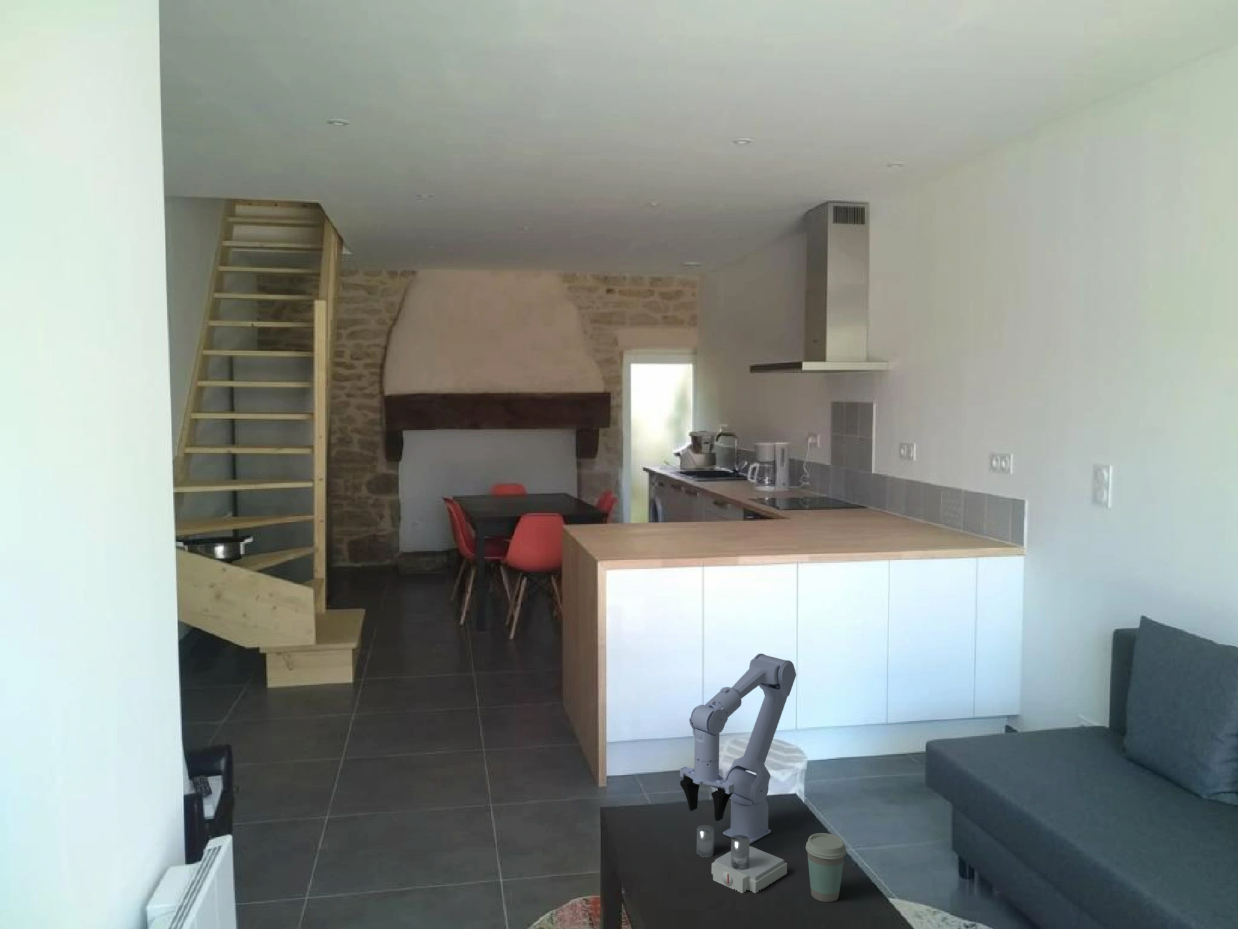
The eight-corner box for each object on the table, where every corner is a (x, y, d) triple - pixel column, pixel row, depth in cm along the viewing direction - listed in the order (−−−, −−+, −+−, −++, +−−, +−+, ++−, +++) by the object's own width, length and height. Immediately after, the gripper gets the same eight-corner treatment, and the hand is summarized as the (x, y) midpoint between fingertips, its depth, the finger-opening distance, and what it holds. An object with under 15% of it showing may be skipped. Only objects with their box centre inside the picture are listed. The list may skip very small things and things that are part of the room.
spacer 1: (703, 848, 221) (704, 823, 221) (717, 853, 218) (717, 828, 218) (693, 853, 218) (693, 828, 218) (706, 859, 216) (706, 834, 215)
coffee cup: (847, 889, 203) (848, 835, 202) (843, 909, 195) (844, 853, 194) (807, 882, 206) (808, 829, 205) (801, 901, 198) (803, 846, 197)
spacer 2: (739, 859, 209) (739, 833, 209) (752, 866, 206) (753, 839, 206) (727, 865, 207) (727, 838, 206) (740, 871, 203) (741, 845, 203)
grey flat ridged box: (743, 855, 218) (743, 842, 217) (786, 873, 209) (787, 859, 209) (704, 877, 207) (705, 863, 207) (748, 897, 199) (749, 883, 199)
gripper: (671, 754, 219) (671, 810, 220) (721, 771, 209) (720, 829, 210) (690, 746, 224) (690, 801, 225) (739, 762, 214) (738, 820, 215)
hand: (705, 814), depth 218 cm, fingers open, 7 cm apart
